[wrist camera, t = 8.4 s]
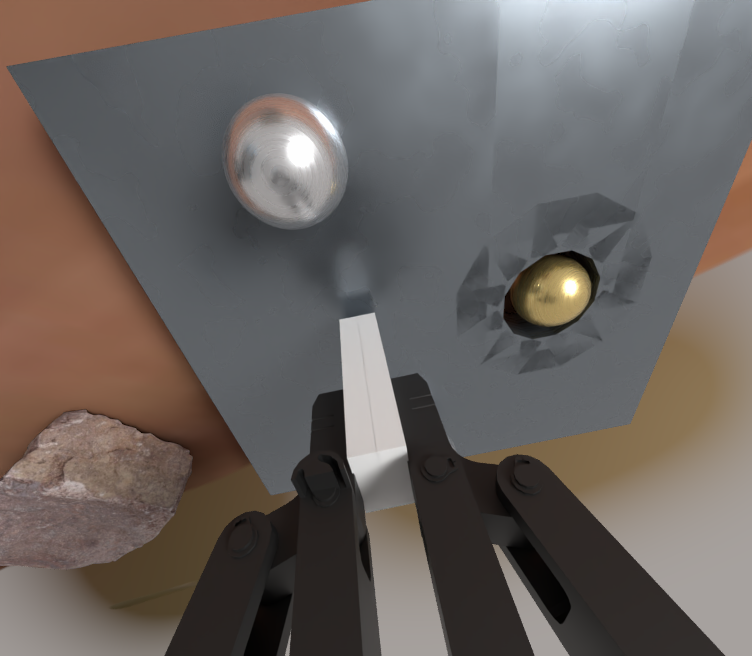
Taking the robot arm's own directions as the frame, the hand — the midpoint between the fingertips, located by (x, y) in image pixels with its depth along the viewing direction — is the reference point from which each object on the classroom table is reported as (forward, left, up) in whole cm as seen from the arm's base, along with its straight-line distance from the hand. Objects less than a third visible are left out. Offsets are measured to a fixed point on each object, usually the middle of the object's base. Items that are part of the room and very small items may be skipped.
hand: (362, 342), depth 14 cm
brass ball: (+9, 0, -2) cm, 9 cm away
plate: (+4, 0, -4) cm, 5 cm away
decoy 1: (-1, +7, +1) cm, 7 cm away
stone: (-19, -9, -4) cm, 21 cm away
